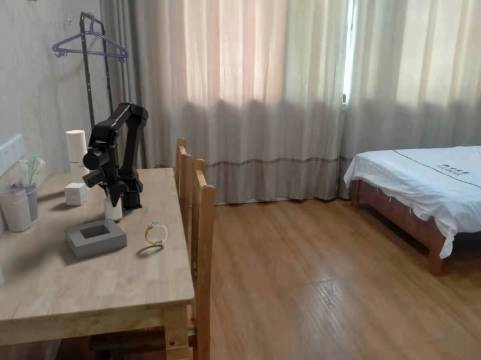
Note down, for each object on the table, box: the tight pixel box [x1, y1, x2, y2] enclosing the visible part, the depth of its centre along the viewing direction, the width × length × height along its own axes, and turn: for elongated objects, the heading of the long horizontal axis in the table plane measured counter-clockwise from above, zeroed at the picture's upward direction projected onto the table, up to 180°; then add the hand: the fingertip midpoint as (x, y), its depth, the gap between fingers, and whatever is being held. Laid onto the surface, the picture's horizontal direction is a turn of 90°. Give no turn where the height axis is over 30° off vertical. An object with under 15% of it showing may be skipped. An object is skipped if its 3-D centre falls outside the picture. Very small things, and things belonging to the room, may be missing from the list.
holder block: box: [64, 218, 128, 260], centre depth 121 cm, size 14×14×4 cm
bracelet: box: [144, 220, 169, 247], centre depth 120 cm, size 7×3×8 cm, turn 103°
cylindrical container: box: [65, 129, 92, 191], centre depth 166 cm, size 7×7×25 cm
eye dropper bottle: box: [102, 194, 123, 222], centre depth 135 cm, size 4×6×12 cm
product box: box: [63, 182, 89, 206], centre depth 153 cm, size 6×6×7 cm
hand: (112, 205), depth 136 cm, fingers closed on eye dropper bottle, 3 cm apart
